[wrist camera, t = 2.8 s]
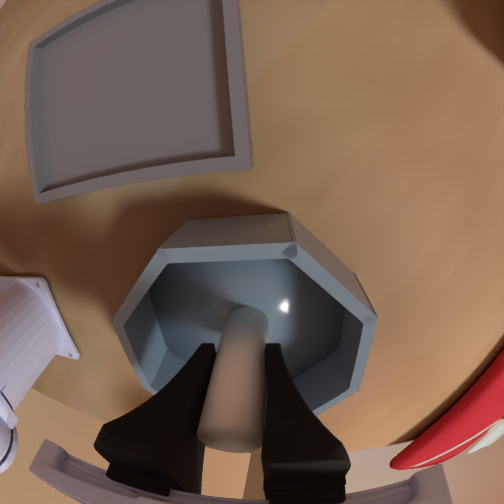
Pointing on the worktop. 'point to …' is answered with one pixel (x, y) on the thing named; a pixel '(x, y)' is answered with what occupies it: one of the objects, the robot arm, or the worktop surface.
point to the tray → (136, 96)
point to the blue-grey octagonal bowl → (250, 303)
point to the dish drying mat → (459, 422)
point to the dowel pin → (237, 385)
